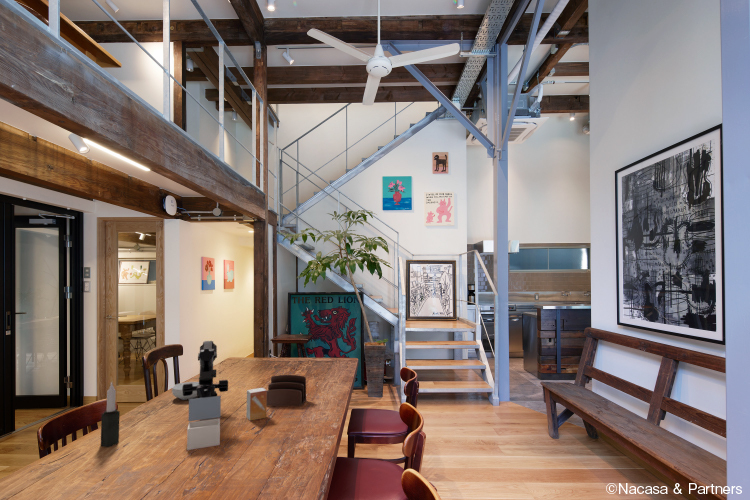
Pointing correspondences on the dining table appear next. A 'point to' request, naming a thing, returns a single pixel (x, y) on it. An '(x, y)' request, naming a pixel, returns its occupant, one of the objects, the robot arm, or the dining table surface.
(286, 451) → the dining table surface
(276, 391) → the letter holder
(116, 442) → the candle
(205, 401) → the lid
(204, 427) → the storage box
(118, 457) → the dining table surface
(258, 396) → the small box
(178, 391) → the cereal bowl
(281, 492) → the dining table surface
